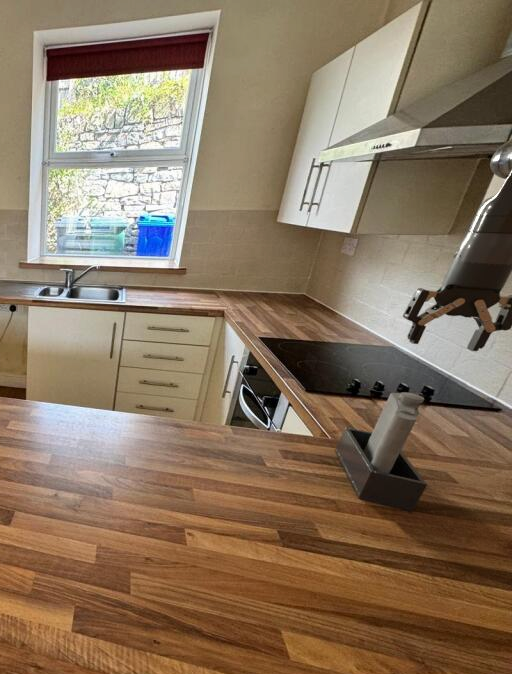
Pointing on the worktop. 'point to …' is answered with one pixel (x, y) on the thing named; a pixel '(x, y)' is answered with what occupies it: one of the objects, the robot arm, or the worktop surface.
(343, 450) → the flask holder
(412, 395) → the hip flask
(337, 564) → the worktop surface
